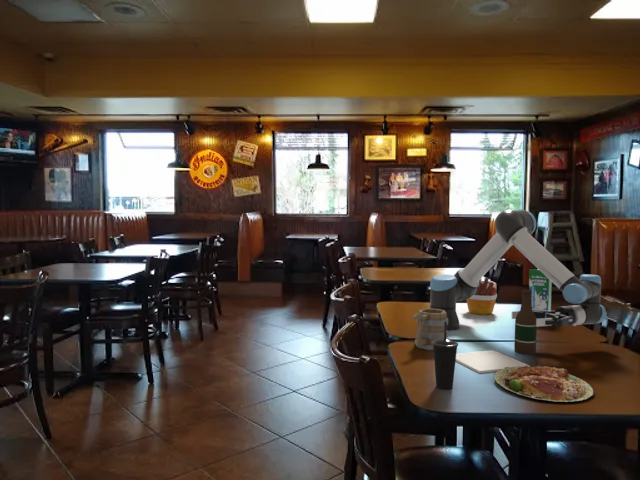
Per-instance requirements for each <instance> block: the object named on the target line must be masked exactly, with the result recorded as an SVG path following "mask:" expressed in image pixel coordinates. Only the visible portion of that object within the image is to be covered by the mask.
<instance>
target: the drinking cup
mask: <svg viewBox="0 0 640 480" xmlns="http://www.w3.org/2000/svg"><path fill="white" fill-rule="evenodd" d="M447 331H448V330H447V322H444V338H440V339H437V340H434V341H433V342H432V344H433V349H434V350H433V359H434V360H433V362H434V374H435V386H436V388H437V389H440V390H446V391H447V390H448V391H449V390H452V389H453V387H454V377H455V370H456V354H457V352H458V351H457V350H458V346H459V343H458V342H457V341H455V340H453V339H451V338H448V337H446V333H447Z"/></svg>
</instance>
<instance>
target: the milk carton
mask: <svg viewBox="0 0 640 480" xmlns="http://www.w3.org/2000/svg"><path fill="white" fill-rule="evenodd" d="M528 273H529V275H528V278H529V279H528V289H531V290H532V293H531V299H532V310H548V311H552V287H553V286H552V285H553V282H552V281H550V280H549V279H548V278H547V277H546V276H545V275H544V274H543V273H542V272H541V271H540V270H539V269H538V268H537V269H534V268H533V269H531V268H530V269H529V271H528ZM545 318H547V317H545ZM536 319H542V318H536Z"/></svg>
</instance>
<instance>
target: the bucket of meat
mask: <svg viewBox="0 0 640 480" xmlns="http://www.w3.org/2000/svg"><path fill="white" fill-rule="evenodd" d="M497 297H498V294H497V283H496V282H494V281H492V280H489V277H485V278H484V279H483V280H482V278H481V279H480V280H479V286H478V287H477V290H476V292H475V294H474V295H473V296H472V297H471V298H469V299H467V300H466V303H467V304H466V305H467V308H468V312H469V313H471V314H473V315H480V316H483V315H484V316H485V315H486V316H487V315H492V313H493V312H494V309H495V304H496V300H497Z"/></svg>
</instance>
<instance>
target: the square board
mask: <svg viewBox="0 0 640 480" xmlns="http://www.w3.org/2000/svg"><path fill="white" fill-rule="evenodd" d="M456 362H457V363H459V364H460V365H463V366H464V367H466V368H468V369H470V370H472V371H474V372H476V373H478V374H488V373H496V372H497V371H499V370H502V369H504V368H505V367H519V366H520V367H524V366H526V365H527V366H529V367H531V365H528V364H527V363H524V362H522V361H519V360H518V359H515V358H512V357H510V356H508V355H506V354H503V353H501V352H499V351H496V350H494V349H491V350H481V351H471V352H470V351H469V352H460V353H459V352H458V353H456ZM456 362H455V363H456Z"/></svg>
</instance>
